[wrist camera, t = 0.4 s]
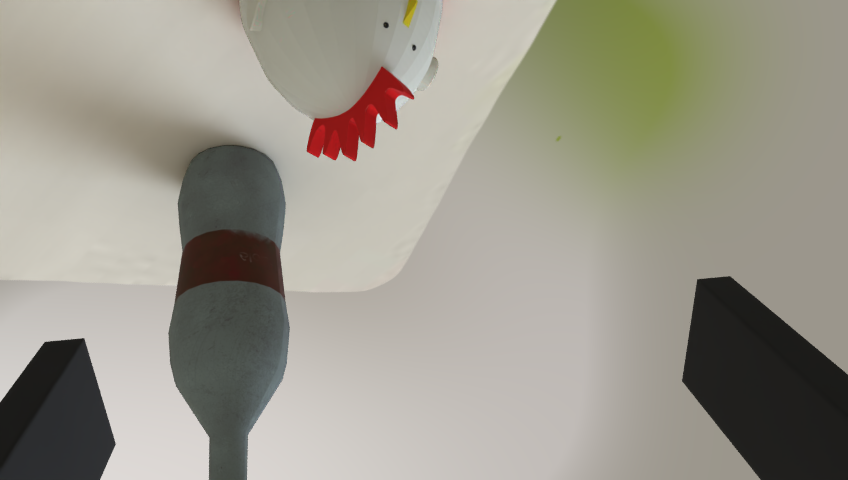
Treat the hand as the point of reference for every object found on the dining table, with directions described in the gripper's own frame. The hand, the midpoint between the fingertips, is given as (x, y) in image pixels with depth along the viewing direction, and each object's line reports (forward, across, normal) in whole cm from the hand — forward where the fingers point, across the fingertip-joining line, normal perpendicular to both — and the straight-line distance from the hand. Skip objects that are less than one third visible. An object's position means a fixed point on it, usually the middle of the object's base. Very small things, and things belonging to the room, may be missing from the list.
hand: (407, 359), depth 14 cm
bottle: (+48, -12, -10) cm, 51 cm away
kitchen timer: (+38, -1, +6) cm, 38 cm away
